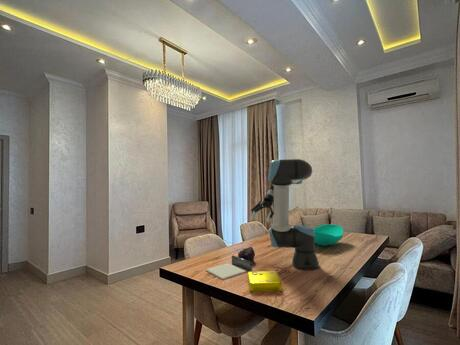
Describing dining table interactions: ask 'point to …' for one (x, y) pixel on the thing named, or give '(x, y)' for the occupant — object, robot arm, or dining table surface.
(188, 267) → the dining table surface
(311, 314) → the dining table surface
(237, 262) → the metal rail
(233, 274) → the felt mat
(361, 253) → the dining table surface
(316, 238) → the table top decor
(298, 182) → the robot arm
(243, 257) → the rock
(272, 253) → the dining table surface
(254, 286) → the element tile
